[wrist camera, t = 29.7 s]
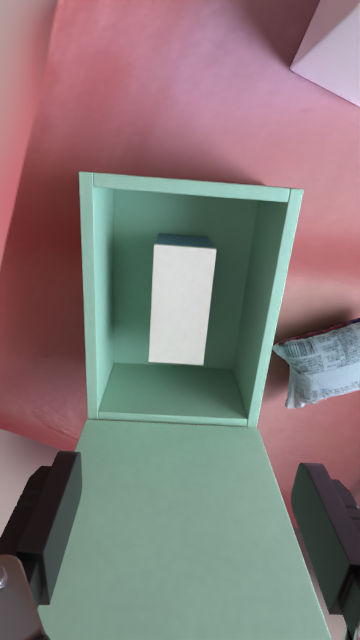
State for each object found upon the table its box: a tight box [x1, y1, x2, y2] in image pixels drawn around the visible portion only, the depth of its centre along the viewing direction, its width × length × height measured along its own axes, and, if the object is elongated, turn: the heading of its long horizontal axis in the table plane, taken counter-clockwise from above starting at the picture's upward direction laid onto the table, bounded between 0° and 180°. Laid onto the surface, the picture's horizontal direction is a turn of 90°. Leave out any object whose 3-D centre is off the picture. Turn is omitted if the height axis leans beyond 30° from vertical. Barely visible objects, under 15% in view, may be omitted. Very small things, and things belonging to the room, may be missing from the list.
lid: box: [37, 420, 331, 640], centre depth 21 cm, size 21×15×5 cm
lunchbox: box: [79, 171, 303, 428], centre depth 30 cm, size 20×15×9 cm
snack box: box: [148, 233, 216, 365], centre depth 31 cm, size 5×10×6 cm, turn 176°
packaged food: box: [272, 318, 360, 408], centre depth 36 cm, size 9×12×5 cm
